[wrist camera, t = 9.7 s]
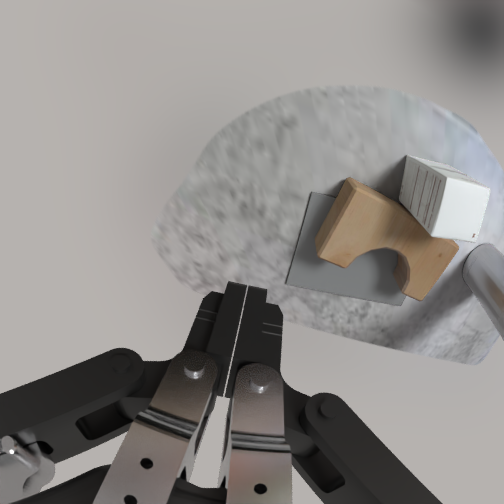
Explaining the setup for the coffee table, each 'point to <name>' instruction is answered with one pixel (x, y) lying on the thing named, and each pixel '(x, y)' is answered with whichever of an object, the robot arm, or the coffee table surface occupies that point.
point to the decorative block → (383, 237)
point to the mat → (334, 277)
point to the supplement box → (443, 199)
